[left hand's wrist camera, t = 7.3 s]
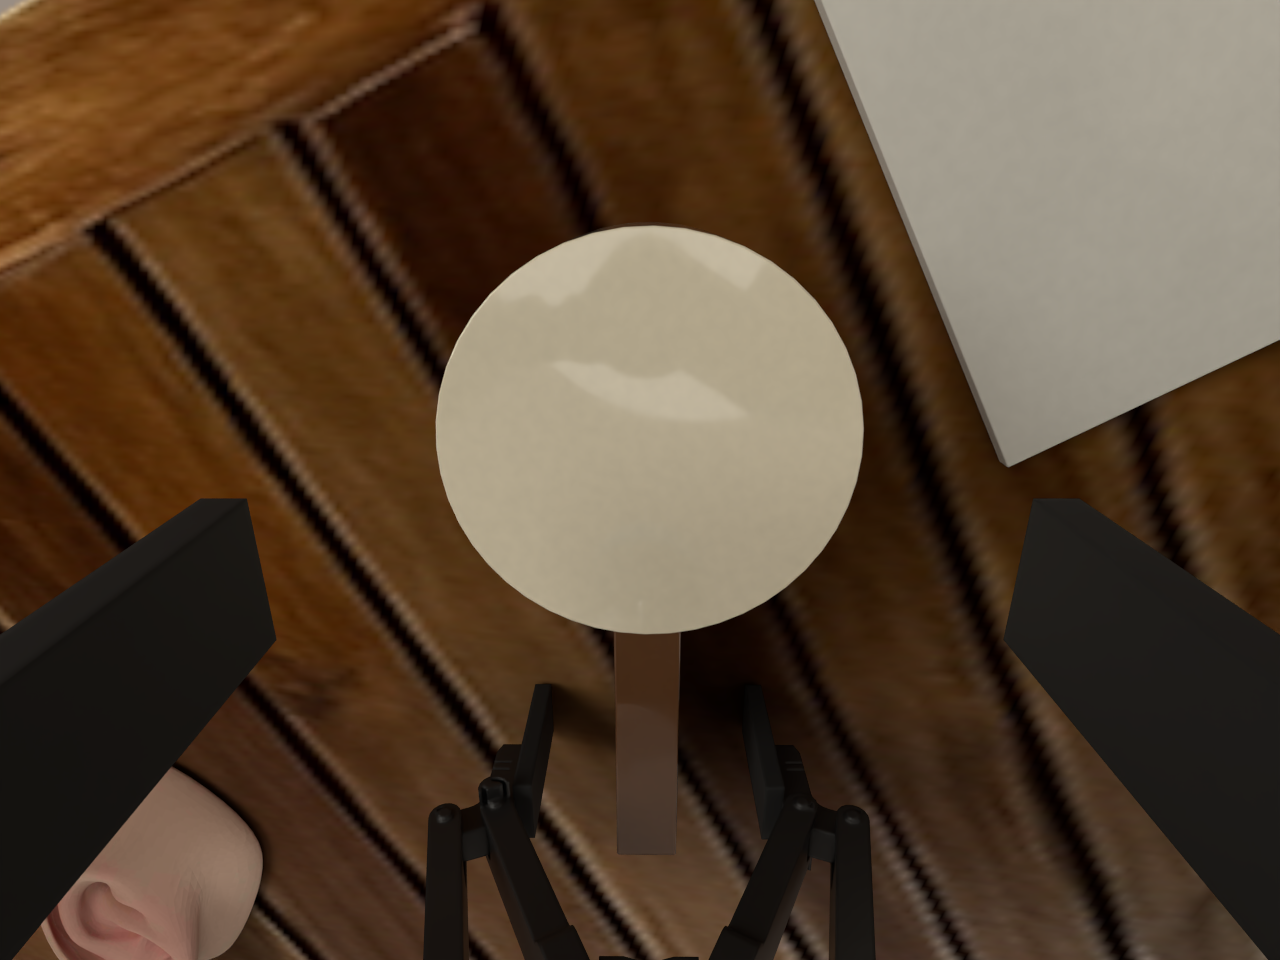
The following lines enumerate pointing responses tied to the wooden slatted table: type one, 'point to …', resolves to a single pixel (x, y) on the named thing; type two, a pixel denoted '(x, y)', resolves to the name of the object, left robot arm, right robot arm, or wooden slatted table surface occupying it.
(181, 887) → the anatomical model
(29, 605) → the wooden slatted table surface
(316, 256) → the wooden slatted table surface
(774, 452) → the cap
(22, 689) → the left robot arm
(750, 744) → the right robot arm
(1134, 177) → the grey mat
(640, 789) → the orange handled cylinder
